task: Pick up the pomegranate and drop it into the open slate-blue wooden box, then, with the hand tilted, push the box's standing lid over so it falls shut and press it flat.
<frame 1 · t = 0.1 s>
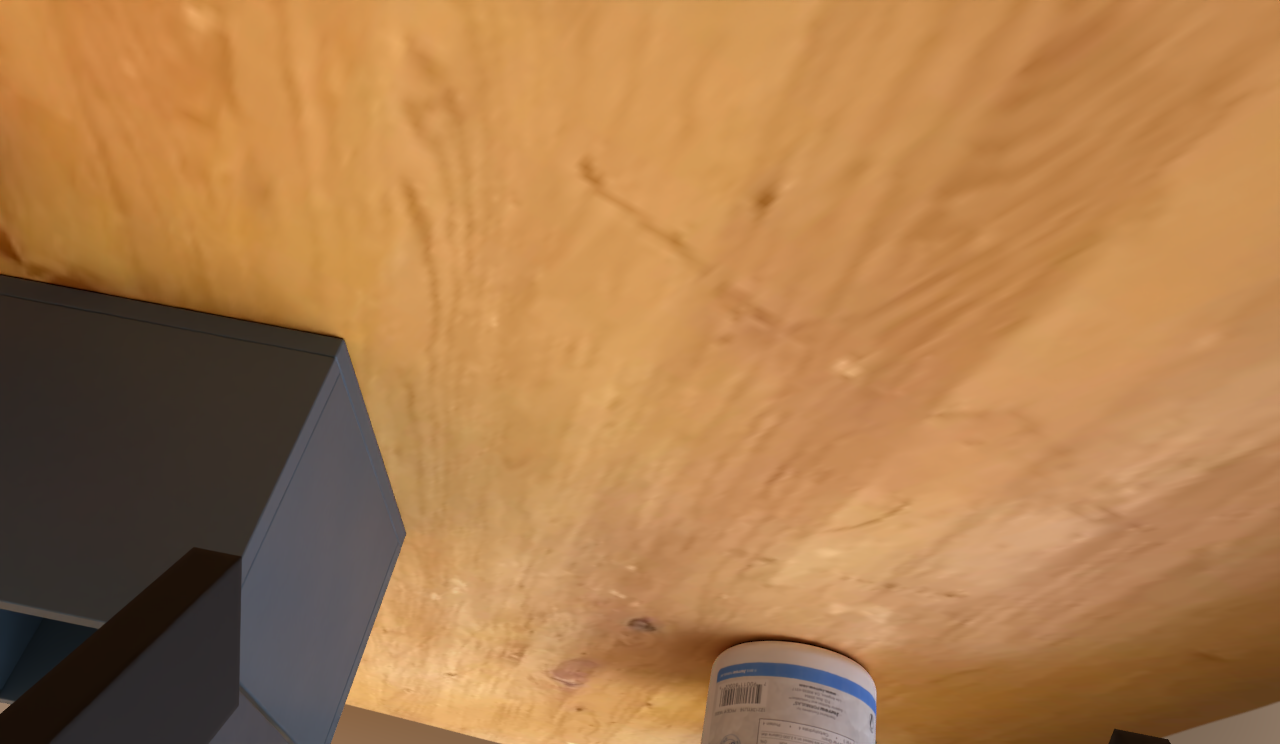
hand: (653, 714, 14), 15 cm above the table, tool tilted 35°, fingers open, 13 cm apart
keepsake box: (212, 419, 42), on the table
supplement tub: (794, 663, 54), on the table
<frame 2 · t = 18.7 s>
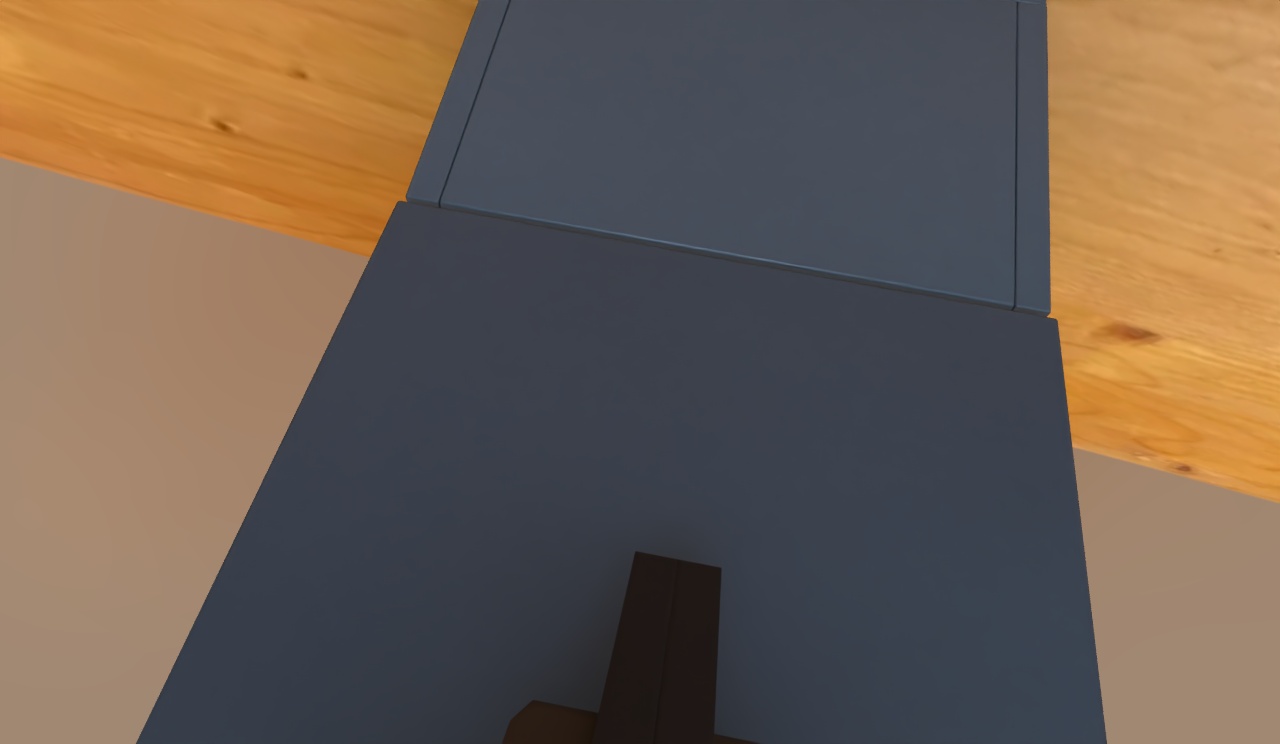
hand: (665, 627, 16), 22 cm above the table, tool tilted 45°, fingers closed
lid: (668, 566, 19), point 21 cm above the table, hinge at 99.7°, touching gripper
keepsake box: (743, 115, 36), on the table
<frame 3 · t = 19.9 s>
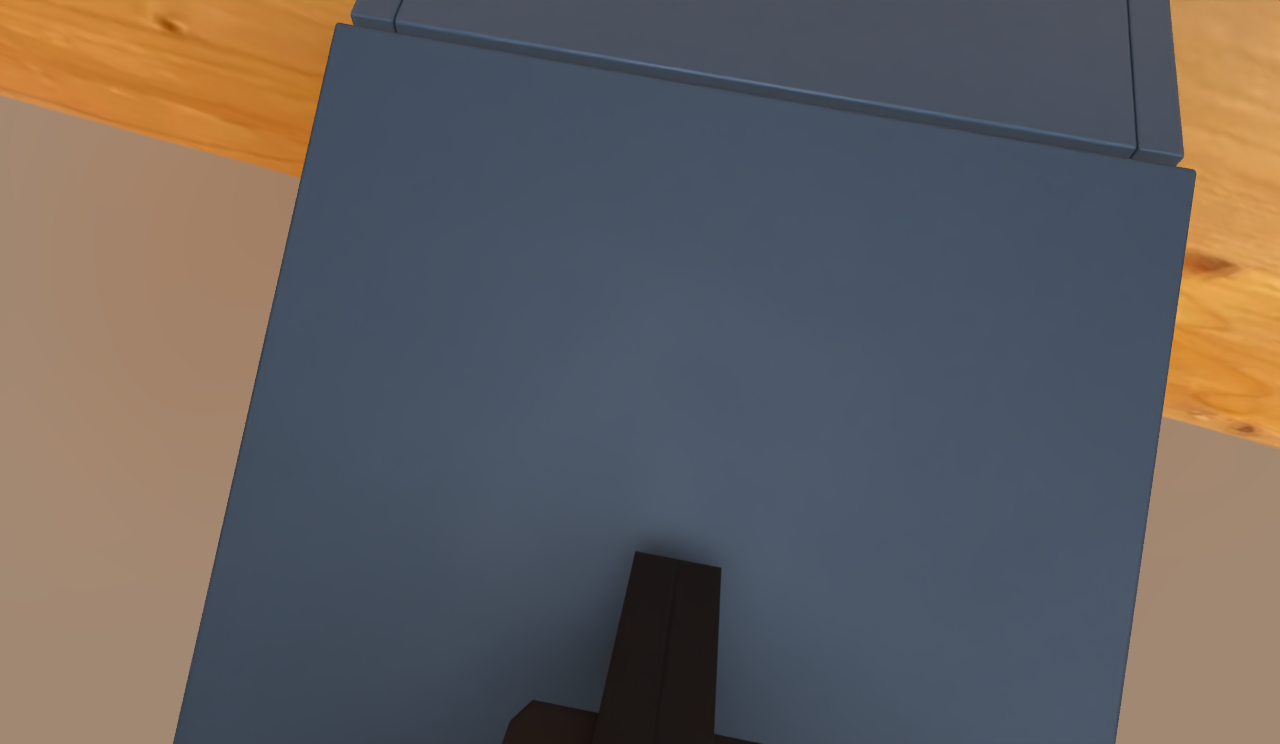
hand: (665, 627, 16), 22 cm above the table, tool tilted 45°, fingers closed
lid: (677, 520, 18), point 20 cm above the table, hinge at 68.4°
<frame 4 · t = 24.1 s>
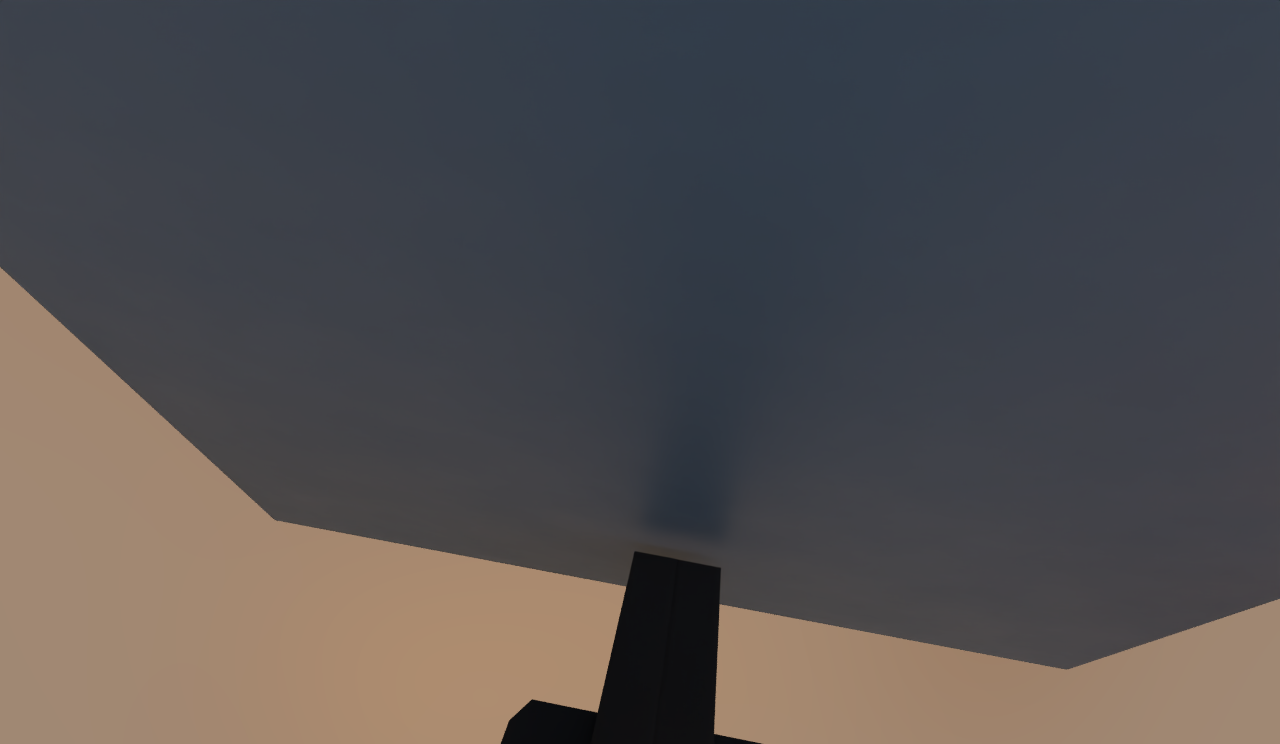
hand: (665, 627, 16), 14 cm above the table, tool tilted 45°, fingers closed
lid: (703, 421, 12), point 12 cm above the table, hinge at -0.2°, touching gripper, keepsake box
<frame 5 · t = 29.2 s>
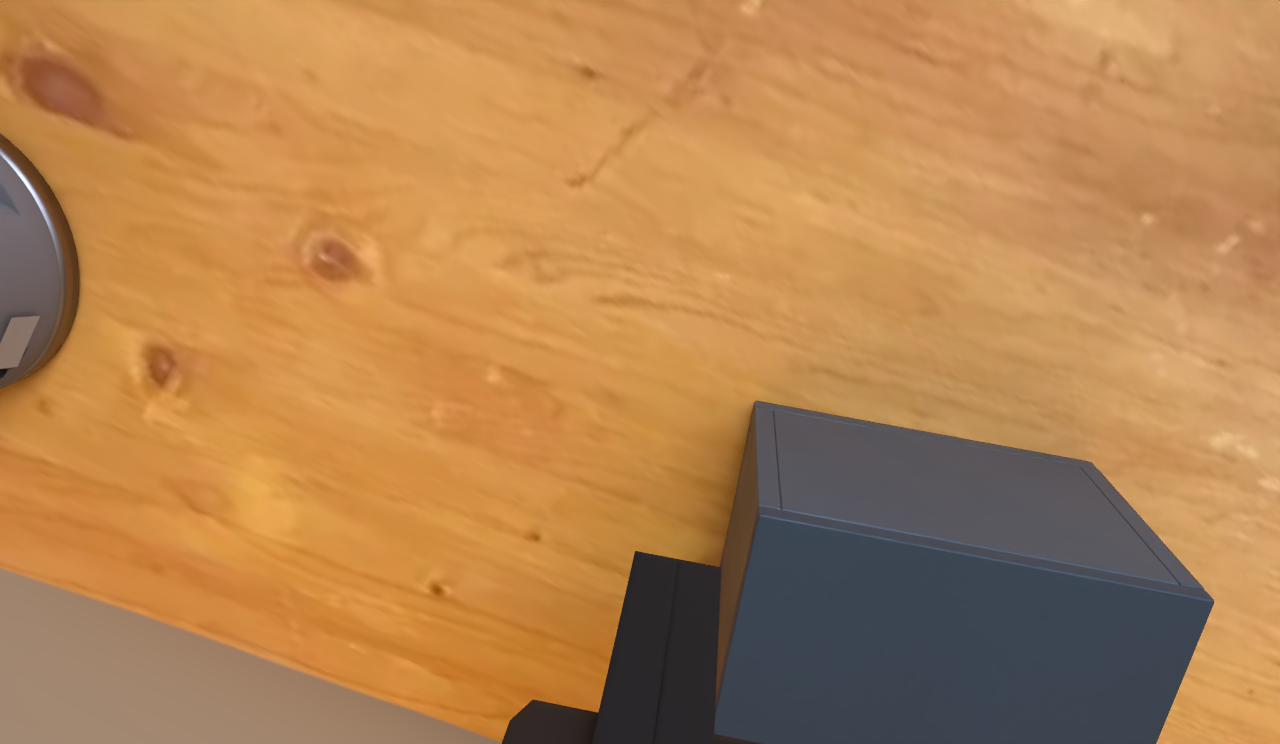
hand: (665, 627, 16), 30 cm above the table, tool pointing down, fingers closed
lid: (925, 732, 37), point 12 cm above the table, hinge at -0.1°
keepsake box: (883, 568, 49), on the table
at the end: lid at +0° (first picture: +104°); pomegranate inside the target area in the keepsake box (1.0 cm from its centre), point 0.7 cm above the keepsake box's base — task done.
